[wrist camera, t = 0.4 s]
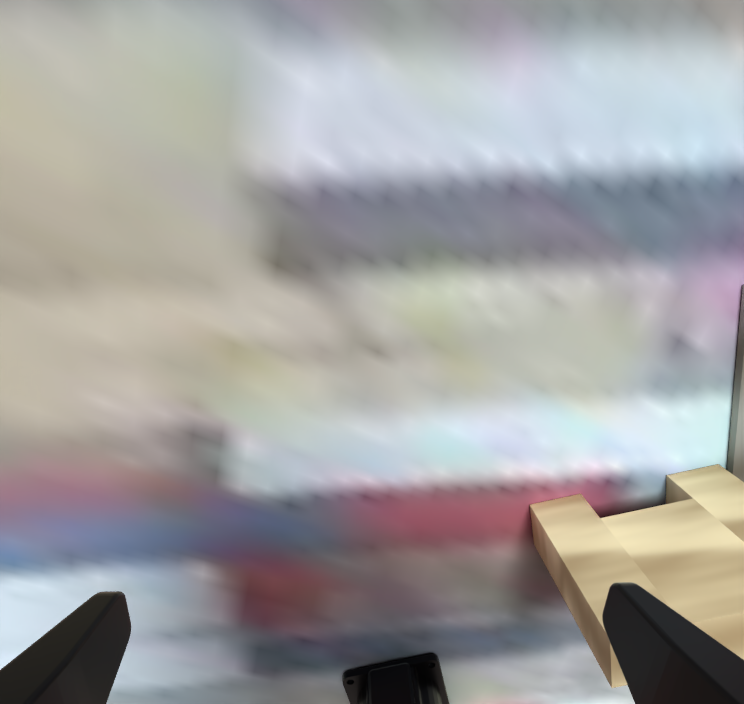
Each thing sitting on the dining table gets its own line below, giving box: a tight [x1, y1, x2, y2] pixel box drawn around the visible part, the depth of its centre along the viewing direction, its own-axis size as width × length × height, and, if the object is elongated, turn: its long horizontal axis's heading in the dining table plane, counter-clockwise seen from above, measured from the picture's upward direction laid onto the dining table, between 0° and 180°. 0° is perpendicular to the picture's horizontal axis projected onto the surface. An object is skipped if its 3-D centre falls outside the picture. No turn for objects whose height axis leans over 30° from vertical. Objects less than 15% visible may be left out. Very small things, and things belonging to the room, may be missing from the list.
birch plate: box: [530, 464, 744, 688], centre depth 21 cm, size 3×11×8 cm, turn 102°
